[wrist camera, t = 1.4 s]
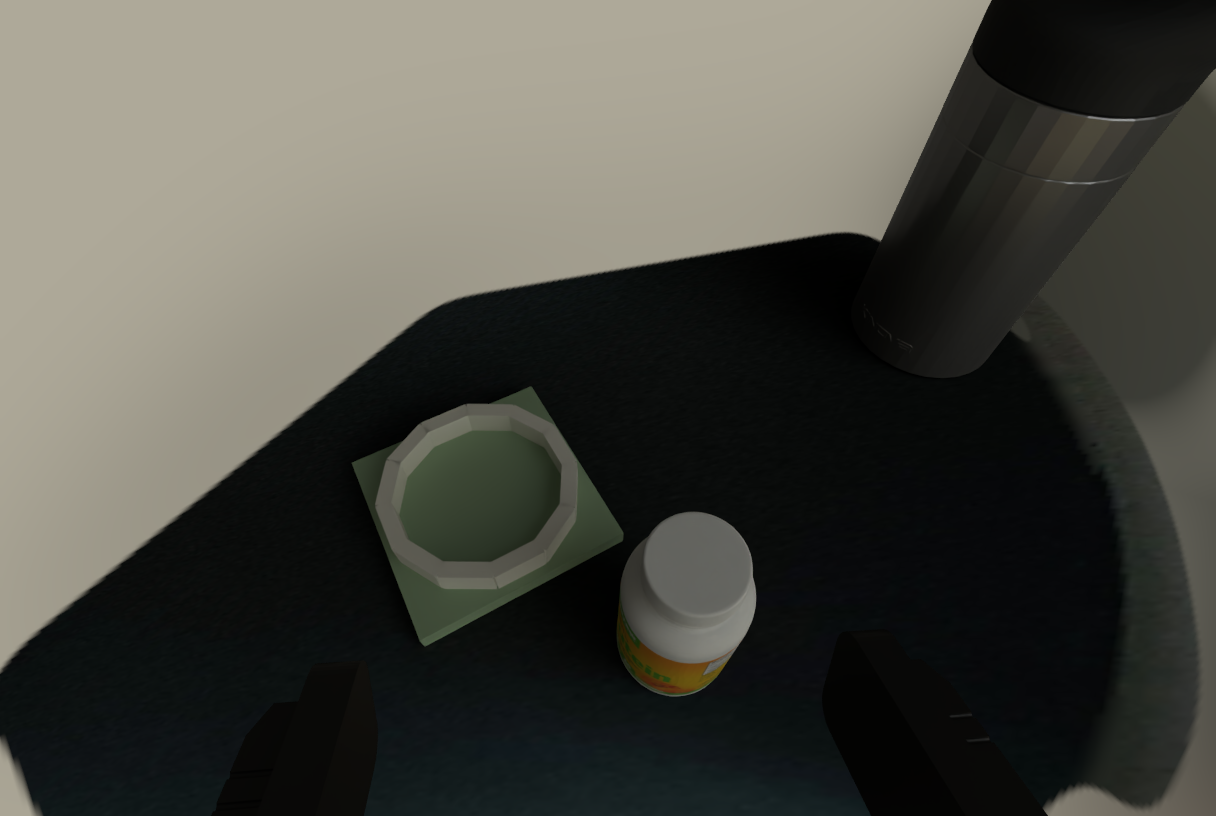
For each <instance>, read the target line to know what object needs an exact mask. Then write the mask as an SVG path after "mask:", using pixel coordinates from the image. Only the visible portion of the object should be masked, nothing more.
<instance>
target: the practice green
mask: <svg viewBox="0 0 1216 816" xmlns="http://www.w3.org/2000/svg"><path fill="white" fill-rule="evenodd" d="M352 465H353V468H354V470H355V473H356V476H357V478H358V481H359V483H360V486H361V489H362V491H363V494H364V496H365V499H366V502H367V504H368V507H369V509H370V512H371V515H372V517H373V520H374V523H375V525H376V528H377V530H378V533H379V536H380V538H381V541H382V543H383V546H384V549H385V551H386V554H387V556H388V559H389V562H390V564H391V567H392V569H393V572H394V575H395V577H396V580H397V583H398V585H399V588H400V590H401V593H402V596H403V598H404V601H405V603H406V606H407V609H408V611H409V614H410V616H411V619H412V622H413V624H414V627H415V629H416V632H417V635H418V637H419V640H420V642H421V643H422V644H423V645H424V646H427V645H429V644H430V643H432V642H434V641H436V640H438V639H440V638H442V637H443V636H445V635H447V634H449V633H451V632H453V631H455V630H457V629H458V628H460V627H462V626H464V625H466V624H468V623H470V622H472V621H473V620H475V619H477V618H479V617H481V616H483V615H485V614H487V613H488V612H490V611H492V610H494V609H496V608H498V607H500V606H502V605H503V604H505V603H507V602H509V601H511V600H513V599H515V598H517V597H518V596H520V595H522V594H524V593H526V592H528V591H530V590H532V589H533V588H535V587H537V586H539V585H541V584H543V583H545V582H547V581H548V580H550V579H552V578H554V577H556V576H558V575H560V574H562V573H563V572H565V571H567V570H569V569H571V568H573V567H575V566H577V565H578V564H580V563H582V562H584V561H586V560H588V559H590V558H592V557H593V556H595V555H597V554H599V553H601V552H603V551H605V550H607V549H608V548H610V547H612V546H614V545H616V544H618V543H620V542H622V541H623V531H622V530H621V528H620V527H619V525H618V523H617V522H616V520H615V519H614V517H613V516H612V514H611V512H610V511H609V509H608V508H607V506H606V504H605V503H604V501H603V500H602V498H601V496H600V495H599V493H598V492H597V490H596V488H595V487H594V485H593V484H592V482H591V481H590V479H589V477H588V476H587V474H586V473H585V471H584V469H583V468H582V466H581V465H580V463H579V461H578V460H577V458H576V457H575V455H574V453H573V452H572V450H571V449H570V447H569V446H568V444H567V442H566V441H565V439H564V438H563V436H562V434H561V433H560V431H559V430H558V428H557V426H556V425H555V423H554V422H553V420H552V419H551V417H550V415H549V414H548V412H547V411H546V409H545V407H544V406H543V404H542V403H541V401H540V399H539V398H538V396H537V395H536V393H535V391H534V390H533V388H532V387H529V388H526V389H524V390H522V391H519V392H517V393H515V394H512V395H510V396H507V397H505V398H503V399H500V400H498V401H496V402H493V403H491V404H467V406H466V405H465V404H464V405H462V406H460V407H457V408H455V409H452V410H450V411H448V412H445V413H443V414H441V415H438V416H436V417H433V418H431V419H429V420H426V421H424V422H422V423H421V425H420V424H419V425H418V426H417V427H416V428H415V429H414V430H413V431H412V432H411V433H410V434H409V435H408V436H407V438H406V439H405V440H404V441H402V442H399V443H397V444H395V445H392V446H390V447H388V448H385V449H383V450H381V451H378V452H376V453H374V454H371V455H369V456H366V457H364V458H362V459H359V460H357V461H355V462H352Z"/></svg>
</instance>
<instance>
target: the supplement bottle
mask: <svg viewBox="0 0 1216 816" xmlns="http://www.w3.org/2000/svg"><path fill="white" fill-rule="evenodd" d="M752 572H753V566H752V559H751V555H750V552H749V549H748V547H747V545H746V543H745V541H744V540H743V538H742V537H741V535H740V534H739V533H738V532H737V531H736V530H735V529H734V528H733V527H732V526H731V525H730V524H728V523H727V522H725V521H724V520H722V519H720V518H718V517H716V516H713V515H710V514H706V513H701V512H685V513H680V514H676V515H674V516H671V517H669V518H667V519H666V520H664V521H662V522H661V523H660V524H659V525H658V526H656V527H655V528H654V530H653V531H652V532H651V534H650V535H649V537H647V538H646V539H645V540H643V541H642V542H641V543H640V544H639V545H638V546H637V547H636V549H635V550H634V551H633V552H632V554H631V555H630V557H629V559H628V561H627V563H626V566H625V568H624V571H623V575H622V579H621V585H620V599H619V608H618V620H617V645H618V650H619V653H620V656H621V659H622V661H623V663H624V665H625V667H626V668H627V670H628V671H629V673H630V674H631V675H632V676H633V677H634V678H635V679H636V680H637V681H638V682H639V683H640V684H641V685H643V686H644V687H646V688H647V689H649V690H651V691H653V692H656V693H658V694H662V695H666V696H684V695H689V694H692V693H695V692H697V691H699V690H701V689H703V688H704V687H706V686H707V685H708V684H710V683H711V682H712V681H713V680H714V679H715V678H716V677H717V675H718V674H719V673H720V672H721V670H722V669H723V667H724V666H725V664H726V663H727V661H728V660H729V658H730V657H731V655H732V654H733V652H734V651H735V649H736V648H737V646H738V645H739V643H740V642H741V640H742V639H743V638H744V636H745V634H746V632H747V631H748V629H749V626H750V624H751V622H752V619H753V616H754V611H755V606H756V590H755V584H754V579H753V576H752Z"/></svg>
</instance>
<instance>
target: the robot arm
mask: <svg viewBox="0 0 1216 816" xmlns="http://www.w3.org/2000/svg"><path fill="white" fill-rule="evenodd" d="M1214 69H1216V0H992V1H991V3H990V5H989V7H988V9H987V11H986V13H985V15H984V17H983V20H982V22H981V24H980V26H979V29H978V31H977V33H976V35H975V37H974V40H973V43H972V45H971V46H970V49H969V51H968V53H967V55H966V57H965V60H964V62H963V64H962V66H961V68H960V70H959V73H958V75H957V77H956V79H955V81H954V84H953V86H952V88H951V90H950V93H949V94H948V97H947V99H946V101H945V103H944V105H943V108H942V110H941V112H940V115H939V117H938V119H937V121H936V123H935V125H934V128H933V130H932V132H931V134H930V137H929V139H928V141H927V143H926V145H925V147H924V149H923V152H922V154H921V156H920V158H919V160H918V163H917V165H916V167H915V169H914V171H913V173H912V175H911V178H910V180H909V182H908V184H907V186H906V188H905V191H904V193H903V195H902V197H901V199H900V202H899V204H898V206H897V208H896V210H895V212H894V214H893V217H892V219H891V221H890V223H889V225H888V228H887V230H886V232H885V234H884V236H883V239H882V240H881V243H880V245H879V247H878V249H877V251H876V254H875V256H874V257H873V260H872V262H871V264H870V266H869V268H868V271H867V273H866V275H865V277H864V279H863V281H862V284H861V286H860V288H859V290H858V292H857V295H856V297H855V299H854V302H853V305H852V308H851V320H852V323H853V327H854V330H855V331H856V333H857V335H858V336H859V338H860V340H861V341H862V342H863V343H864V344H865V345H866V346H867V348H868V349H869V350H870V351H872V352H873V353H874V354H875V355H877V356H878V357H879V358H880V359H882V360H884V361H885V362H887V363H889V364H891V365H892V366H894V367H896V368H899V369H901V370H904V371H906V372H909V373H912V374H916V375H921V376H925V377H934V378H949V377H957V376H961V375H965V374H968V373H970V372H972V371H974V370H975V369H977V368H979V367H980V366H981V365H982V364H983V363H984V362H985V361H986V360H987V358H988V357H989V356H990V355H991V353H992V352H993V351H994V349H995V348H996V347H997V346H998V344H999V343H1000V342H1001V340H1002V339H1003V338H1004V337H1005V335H1006V334H1007V333H1008V331H1009V330H1010V329H1011V328H1012V326H1013V325H1014V323H1016V321H1017V320H1018V319H1019V318H1020V316H1021V315H1022V314H1023V313H1024V311H1025V310H1026V309H1027V307H1028V306H1029V305H1030V304H1031V302H1032V301H1033V300H1034V298H1035V297H1036V296H1037V295H1038V293H1039V292H1040V290H1041V289H1042V288H1043V287H1044V286H1045V284H1046V283H1047V282H1048V280H1049V279H1050V278H1051V277H1052V275H1053V274H1054V273H1055V271H1056V270H1057V269H1058V267H1059V266H1060V265H1061V264H1062V262H1063V261H1064V260H1065V259H1066V257H1067V256H1068V255H1069V253H1070V252H1071V251H1072V249H1073V248H1074V247H1075V246H1076V244H1077V243H1078V242H1079V241H1080V239H1081V238H1082V237H1083V235H1084V234H1085V233H1086V232H1087V230H1088V229H1089V228H1090V226H1091V225H1092V224H1093V223H1094V221H1095V220H1096V219H1097V217H1098V216H1099V215H1100V214H1101V212H1102V211H1103V210H1104V208H1105V207H1106V206H1107V205H1108V203H1109V202H1110V201H1111V199H1112V198H1113V197H1114V196H1115V194H1116V193H1117V192H1118V190H1119V189H1120V188H1121V187H1122V185H1123V184H1124V182H1125V181H1126V180H1127V179H1128V177H1129V176H1130V175H1131V174H1132V172H1133V171H1134V170H1135V168H1136V167H1137V165H1138V164H1139V163H1140V161H1141V160H1142V159H1143V158H1144V156H1145V155H1146V154H1147V152H1148V151H1149V150H1150V148H1151V147H1152V146H1153V145H1154V144H1155V142H1156V141H1157V140H1158V138H1159V137H1160V136H1161V135H1162V133H1163V132H1164V131H1165V129H1166V128H1167V127H1168V126H1169V124H1170V123H1171V122H1172V120H1173V119H1174V118H1175V117H1176V115H1177V114H1178V112H1179V111H1180V110H1181V109H1182V108H1183V106H1184V104H1185V103H1186V102H1187V101H1188V100H1189V99H1190V98H1191V97H1192V95H1193V94H1194V93H1195V91H1196V90H1197V89H1198V88H1199V87H1200V85H1201V84H1202V83H1203V82H1204V80H1205V79H1206V78H1207V77H1208V76H1209V74H1210V73H1211V72H1212V71H1213V70H1214ZM822 704H823V711H824V716H825V720H826V723H827V726H828V728H829V731H830V733H831V735H832V737H833V739H834V741H835V743H836V745H837V747H838V749H839V751H840V753H841V755H842V757H843V759H844V761H845V763H846V765H847V767H848V770H849V772H850V774H851V776H852V778H853V780H854V782H855V784H856V786H857V788H858V790H859V792H860V794H861V796H862V798H863V800H864V802H865V804H866V806H867V808H868V810H869V812H870V814H871V816H1048V815H1047V814H1046V812H1045V811H1044V810H1043V808H1042V807H1041V806H1040V804H1039V803H1038V802H1037V800H1036V799H1035V798H1034V796H1033V795H1032V793H1031V792H1030V791H1029V789H1028V788H1027V787H1026V785H1025V784H1024V783H1023V781H1022V780H1021V779H1020V777H1019V776H1018V774H1017V773H1016V772H1015V770H1014V769H1013V768H1012V766H1011V765H1010V764H1009V762H1008V761H1007V760H1006V758H1005V757H1004V755H1003V754H1002V753H1001V751H1000V750H999V749H998V747H997V746H996V745H995V743H991V742H990V740H989V735H988V734H987V732H986V731H985V730H984V728H983V727H982V726H981V724H980V723H979V722H978V720H977V719H976V718H973V717H972V715H971V711H970V709H969V708H968V707H967V705H966V704H965V703H964V701H963V700H962V699H961V697H960V696H959V694H958V693H957V692H956V690H955V689H954V688H953V686H952V685H951V684H950V683H949V682H948V681H947V680H946V679H944V678H943V677H942V676H941V675H940V674H938V673H937V672H936V671H935V670H933V669H932V668H931V667H930V666H929V665H927V664H926V663H925V662H924V661H922V660H921V659H918V660H910V658H909V657H908V656H907V654H906V653H905V651H904V650H903V648H902V647H901V645H900V644H899V643H898V641H897V640H896V638H895V637H894V636H893V635H892V634H891V633H890V632H889V631H887V630H884V629H880V630H864V631H849V632H842V633H841V634H840V635H839V637H838V639H837V642H836V646H835V650H834V653H833V657H832V660H831V664H830V667H829V671H828V674H827V678H826V681H825V685H824V688H823V694H822ZM377 741H378V728H377V719H376V713H375V707H374V701H373V696H372V690H371V684H370V678H369V672H368V667H367V664H366V662H365V661H350V662H334V663H318V664H315V665H314V666H313V667H312V668H311V670H310V672H309V674H308V677H307V679H306V682H305V685H304V687H303V690H302V693H301V696H300V698H299V701H298V702H285V703H274V704H273V705H272V706H271V707H270V709H269V710H268V711H267V712H266V713H265V714H264V715H263V717H262V718H261V719H260V720H259V721H258V722H257V723H256V725H255V726H254V727H253V728H252V729H251V730H250V732H249V733H248V734H247V735H246V737H245V739H244V741H243V744H242V746H241V748H240V751H239V753H238V755H237V758H236V760H235V762H234V764H233V767H232V769H231V771H230V778H229V780H227V781H226V783H225V785H224V787H223V790H222V792H221V794H220V797H219V799H218V801H217V808H216V810H215V811H214V812H213V813H212V815H211V816H364V812H365V808H366V803H367V798H368V794H369V789H370V785H371V780H372V776H373V771H374V766H375V761H376V754H377Z"/></svg>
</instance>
